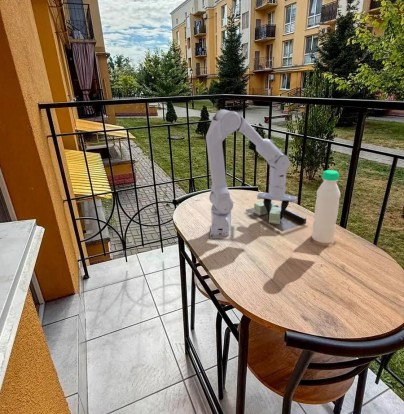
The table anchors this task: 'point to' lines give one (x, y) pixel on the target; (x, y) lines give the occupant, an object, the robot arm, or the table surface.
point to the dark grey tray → (283, 219)
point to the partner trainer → (261, 208)
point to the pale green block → (275, 215)
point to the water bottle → (326, 208)
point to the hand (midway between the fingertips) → (275, 217)
